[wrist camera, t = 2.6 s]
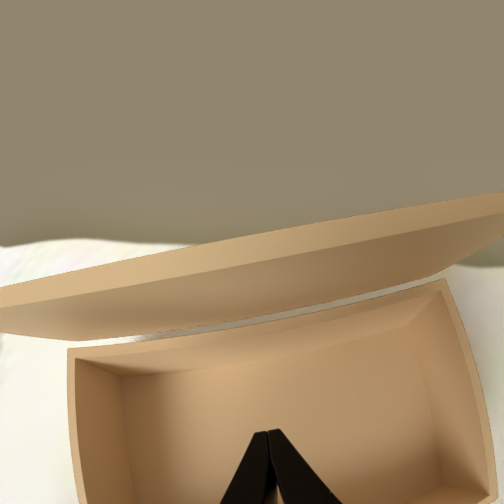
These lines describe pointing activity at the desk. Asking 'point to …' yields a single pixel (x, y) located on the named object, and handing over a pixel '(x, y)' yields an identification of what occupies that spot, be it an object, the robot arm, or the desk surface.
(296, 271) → the carton flap
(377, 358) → the carton
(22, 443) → the desk surface
